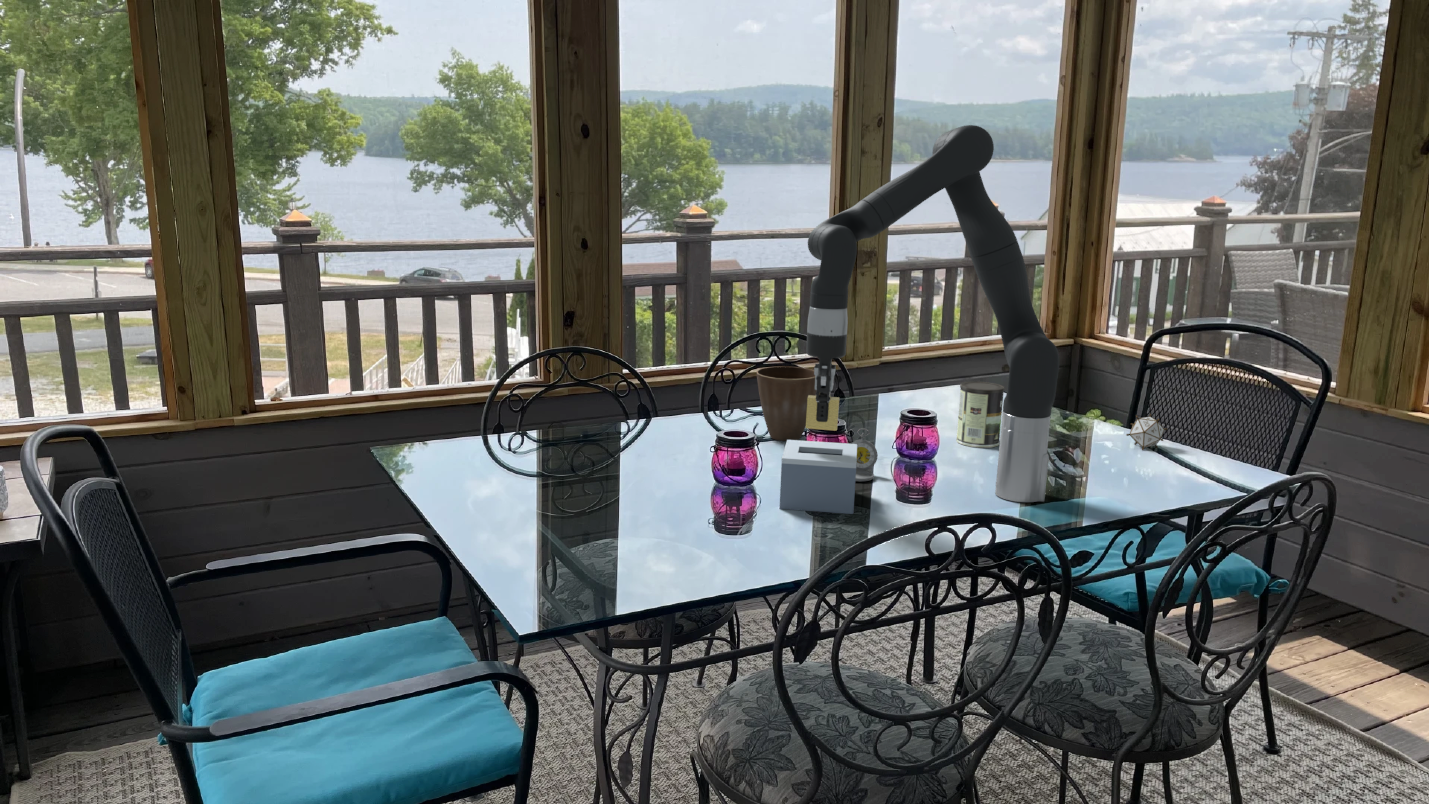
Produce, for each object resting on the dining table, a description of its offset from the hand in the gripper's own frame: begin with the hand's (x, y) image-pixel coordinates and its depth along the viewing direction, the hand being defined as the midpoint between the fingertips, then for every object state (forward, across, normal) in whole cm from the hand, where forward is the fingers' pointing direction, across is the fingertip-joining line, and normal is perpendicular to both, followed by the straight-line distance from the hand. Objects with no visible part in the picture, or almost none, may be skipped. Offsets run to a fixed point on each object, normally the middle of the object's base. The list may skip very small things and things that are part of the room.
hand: (822, 419), depth 204 cm
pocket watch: (+17, +18, -8) cm, 26 cm away
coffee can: (+16, +54, -36) cm, 67 cm away
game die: (+16, +59, -76) cm, 98 cm away
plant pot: (+17, +47, +10) cm, 51 cm away
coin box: (+16, 0, 0) cm, 16 cm away
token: (+2, 0, 0) cm, 2 cm away
